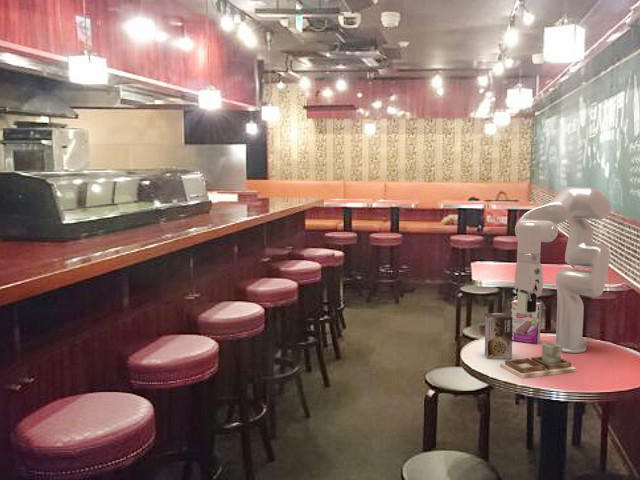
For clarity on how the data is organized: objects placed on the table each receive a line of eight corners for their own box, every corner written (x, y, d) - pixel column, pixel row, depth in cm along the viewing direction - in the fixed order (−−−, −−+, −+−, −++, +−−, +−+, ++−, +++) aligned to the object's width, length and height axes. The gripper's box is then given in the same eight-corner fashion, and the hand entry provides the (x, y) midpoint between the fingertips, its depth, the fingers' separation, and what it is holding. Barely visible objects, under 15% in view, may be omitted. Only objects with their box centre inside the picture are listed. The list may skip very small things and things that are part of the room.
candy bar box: (509, 341, 251) (510, 301, 249) (512, 338, 255) (513, 299, 253) (537, 344, 245) (539, 304, 243) (540, 341, 250) (541, 302, 248)
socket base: (551, 360, 225) (552, 338, 224) (576, 371, 213) (577, 348, 212) (500, 366, 219) (500, 344, 218) (522, 378, 206) (523, 354, 206)
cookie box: (508, 354, 233) (509, 312, 231) (512, 359, 227) (513, 316, 225) (484, 353, 234) (485, 312, 232) (486, 358, 228) (488, 316, 226)
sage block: (528, 310, 215) (528, 291, 214) (536, 313, 210) (536, 293, 210) (516, 311, 213) (517, 291, 212) (524, 314, 209) (525, 294, 208)
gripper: (554, 261, 203) (551, 315, 205) (522, 254, 219) (521, 304, 221) (534, 262, 200) (532, 316, 203) (504, 255, 216) (503, 305, 219)
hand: (526, 309), depth 212 cm, fingers closed on sage block, 4 cm apart
